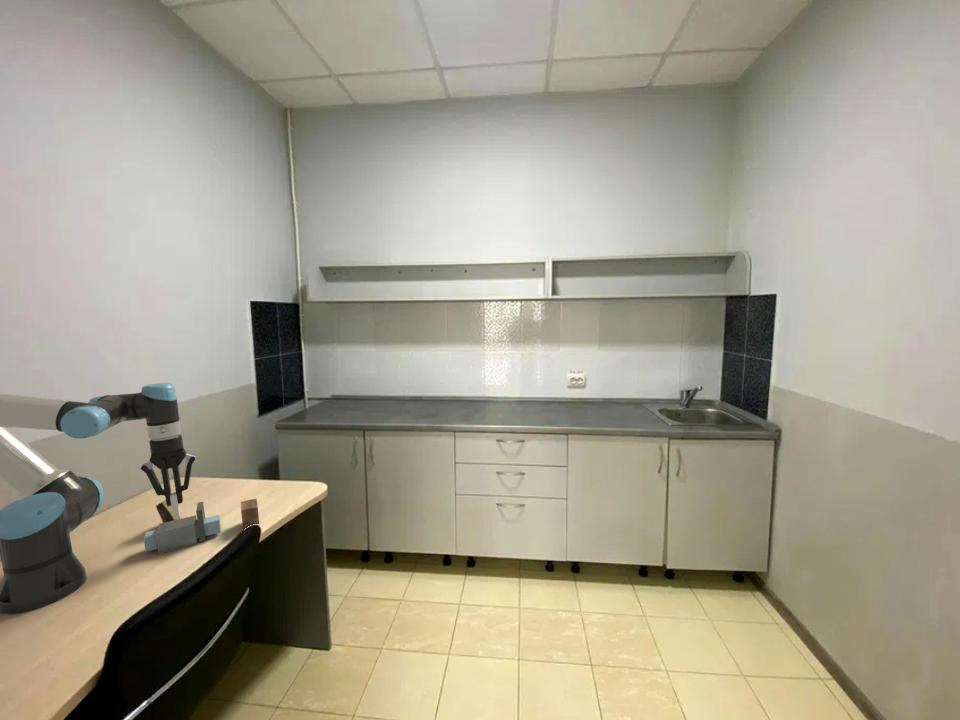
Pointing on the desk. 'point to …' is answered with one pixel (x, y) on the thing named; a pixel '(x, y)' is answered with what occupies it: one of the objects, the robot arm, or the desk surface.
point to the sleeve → (176, 534)
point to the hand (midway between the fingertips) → (176, 514)
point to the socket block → (249, 513)
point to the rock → (166, 512)
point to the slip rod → (201, 526)
